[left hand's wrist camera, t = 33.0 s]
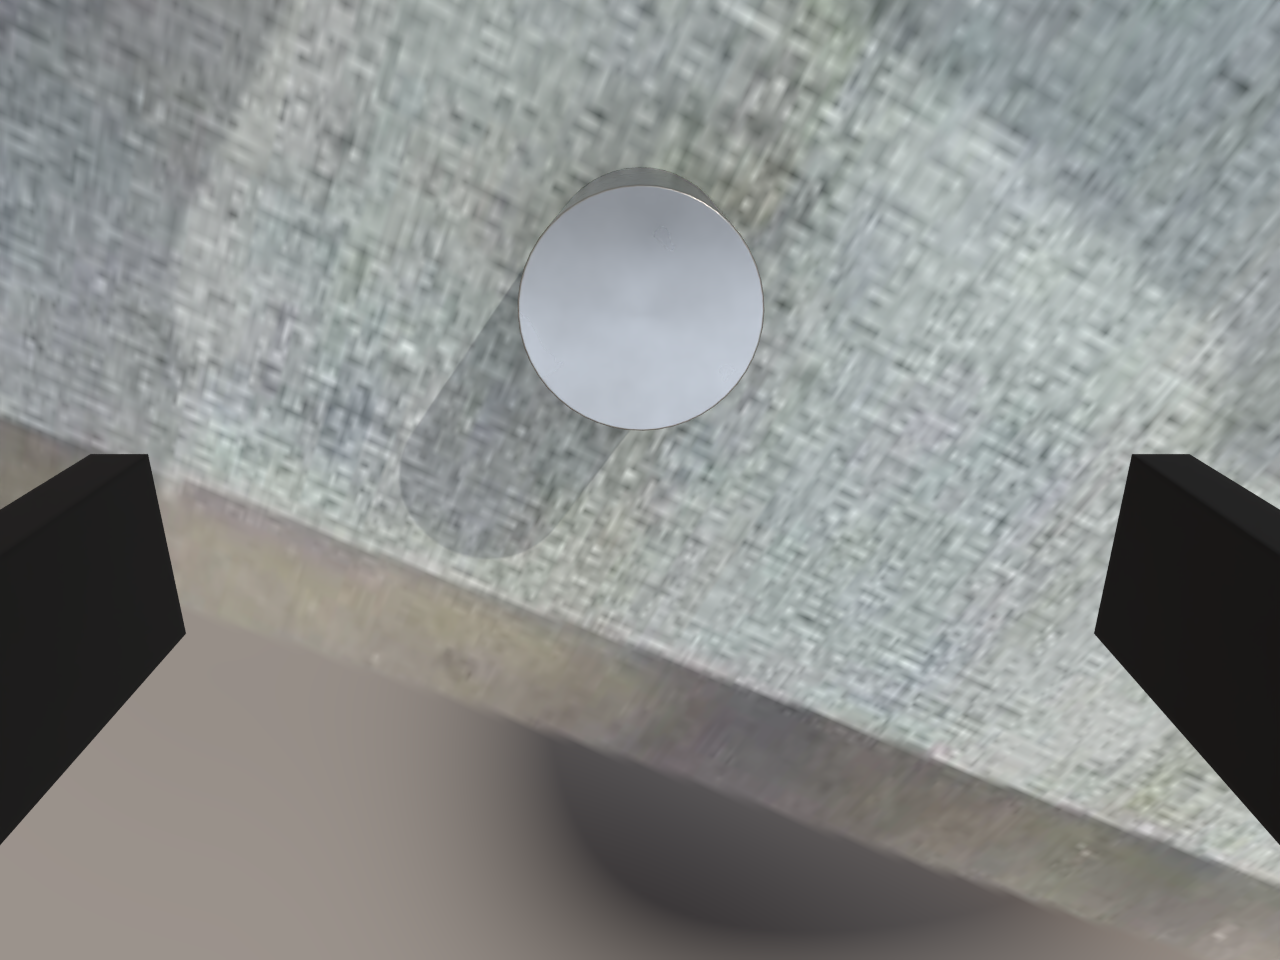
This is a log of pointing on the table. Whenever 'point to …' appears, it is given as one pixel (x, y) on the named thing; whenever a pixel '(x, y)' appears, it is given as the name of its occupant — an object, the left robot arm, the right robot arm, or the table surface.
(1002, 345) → the table surface
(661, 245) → the tin
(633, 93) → the table surface
